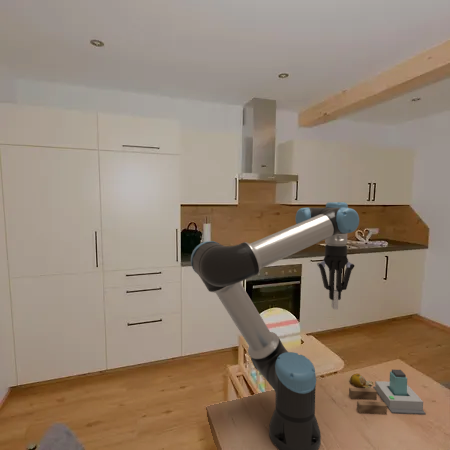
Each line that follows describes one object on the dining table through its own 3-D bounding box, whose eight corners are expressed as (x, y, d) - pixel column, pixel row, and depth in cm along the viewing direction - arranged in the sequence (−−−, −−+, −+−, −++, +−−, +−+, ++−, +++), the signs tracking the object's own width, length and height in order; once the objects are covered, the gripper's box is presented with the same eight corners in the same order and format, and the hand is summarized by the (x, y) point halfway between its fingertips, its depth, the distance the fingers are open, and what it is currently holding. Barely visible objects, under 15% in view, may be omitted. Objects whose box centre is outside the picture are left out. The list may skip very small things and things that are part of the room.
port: (391, 413, 98) (392, 402, 98) (373, 387, 112) (373, 377, 112) (425, 414, 97) (426, 403, 97) (402, 388, 111) (403, 378, 111)
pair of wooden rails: (359, 413, 98) (359, 404, 98) (349, 395, 107) (349, 387, 107) (386, 414, 98) (386, 405, 97) (374, 396, 107) (374, 388, 107)
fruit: (372, 394, 108) (373, 385, 108) (348, 387, 112) (348, 378, 112) (373, 382, 116) (373, 373, 115) (350, 376, 120) (351, 368, 119)
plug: (394, 402, 103) (395, 375, 102) (389, 395, 107) (390, 368, 106) (406, 402, 103) (407, 375, 102) (400, 395, 107) (401, 369, 106)
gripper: (320, 245, 102) (319, 311, 104) (358, 246, 102) (356, 312, 103) (315, 243, 110) (314, 304, 111) (350, 243, 109) (349, 305, 110)
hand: (334, 308), depth 107 cm, fingers closed
